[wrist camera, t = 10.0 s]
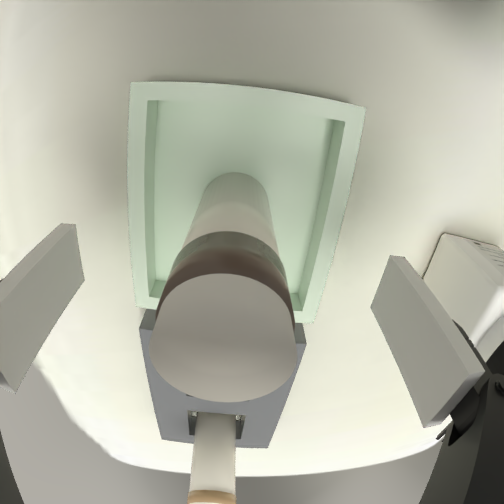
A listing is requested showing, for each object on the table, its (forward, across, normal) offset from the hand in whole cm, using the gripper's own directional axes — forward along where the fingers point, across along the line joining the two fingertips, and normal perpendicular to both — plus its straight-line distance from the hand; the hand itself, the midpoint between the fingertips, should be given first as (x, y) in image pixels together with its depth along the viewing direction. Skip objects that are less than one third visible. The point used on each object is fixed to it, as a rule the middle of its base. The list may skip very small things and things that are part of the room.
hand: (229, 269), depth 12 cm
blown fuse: (+7, 0, 0) cm, 7 cm away
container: (+8, +19, -4) cm, 21 cm away
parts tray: (+8, 0, 0) cm, 8 cm away
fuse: (+8, 0, -22) cm, 23 cm away
